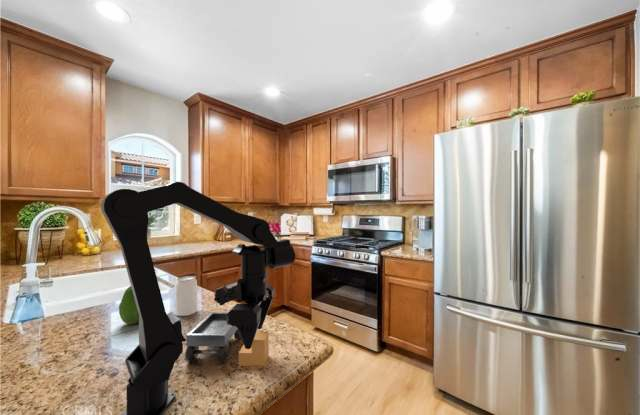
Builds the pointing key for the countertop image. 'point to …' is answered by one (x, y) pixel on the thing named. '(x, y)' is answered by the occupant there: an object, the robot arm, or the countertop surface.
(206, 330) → the tray
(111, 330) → the countertop surface
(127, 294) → the avocado
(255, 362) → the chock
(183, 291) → the can
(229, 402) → the countertop surface
